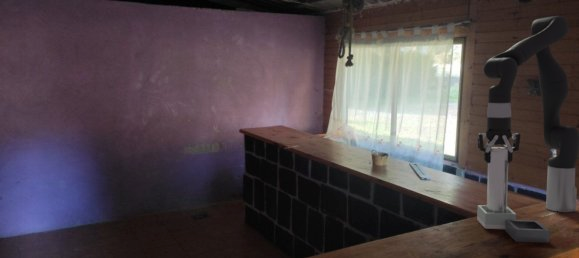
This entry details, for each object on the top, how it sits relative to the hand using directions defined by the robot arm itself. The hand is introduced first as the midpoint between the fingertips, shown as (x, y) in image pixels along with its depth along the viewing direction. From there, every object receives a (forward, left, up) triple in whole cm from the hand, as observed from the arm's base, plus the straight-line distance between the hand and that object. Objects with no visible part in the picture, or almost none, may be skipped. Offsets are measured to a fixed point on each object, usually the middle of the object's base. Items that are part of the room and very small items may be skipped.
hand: (497, 162), depth 154 cm
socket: (-6, +12, -23) cm, 26 cm away
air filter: (0, 0, -20) cm, 20 cm away
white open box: (0, 0, -23) cm, 23 cm away
